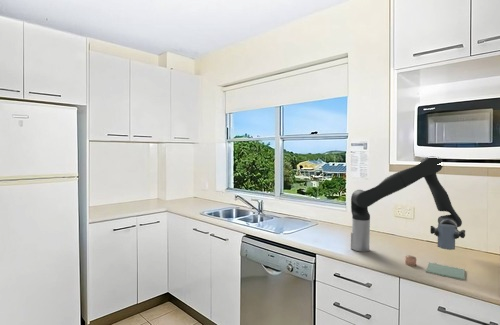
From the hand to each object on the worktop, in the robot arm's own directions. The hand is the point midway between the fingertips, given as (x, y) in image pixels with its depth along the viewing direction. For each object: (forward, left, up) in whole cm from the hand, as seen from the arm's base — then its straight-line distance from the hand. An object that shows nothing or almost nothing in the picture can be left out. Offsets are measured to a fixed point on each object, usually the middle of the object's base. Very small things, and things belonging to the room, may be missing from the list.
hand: (446, 235), depth 130 cm
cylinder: (-14, +2, -17) cm, 22 cm away
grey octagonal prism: (0, +2, -6) cm, 6 cm away
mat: (0, +2, -17) cm, 17 cm away
